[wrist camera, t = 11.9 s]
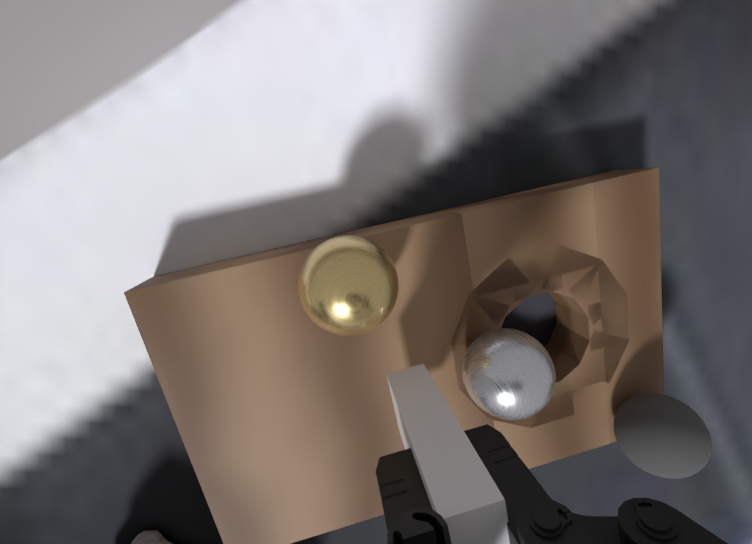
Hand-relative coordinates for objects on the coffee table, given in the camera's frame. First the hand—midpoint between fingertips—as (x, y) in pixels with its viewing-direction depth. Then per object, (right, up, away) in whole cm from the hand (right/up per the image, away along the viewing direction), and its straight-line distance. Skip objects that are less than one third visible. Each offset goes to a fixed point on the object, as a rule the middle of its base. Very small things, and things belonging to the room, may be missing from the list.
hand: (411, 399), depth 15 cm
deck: (+1, +1, +4) cm, 5 cm away
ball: (+4, +1, 0) cm, 4 cm away
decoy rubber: (+11, -2, +2) cm, 12 cm away
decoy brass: (-2, +4, -1) cm, 5 cm away
